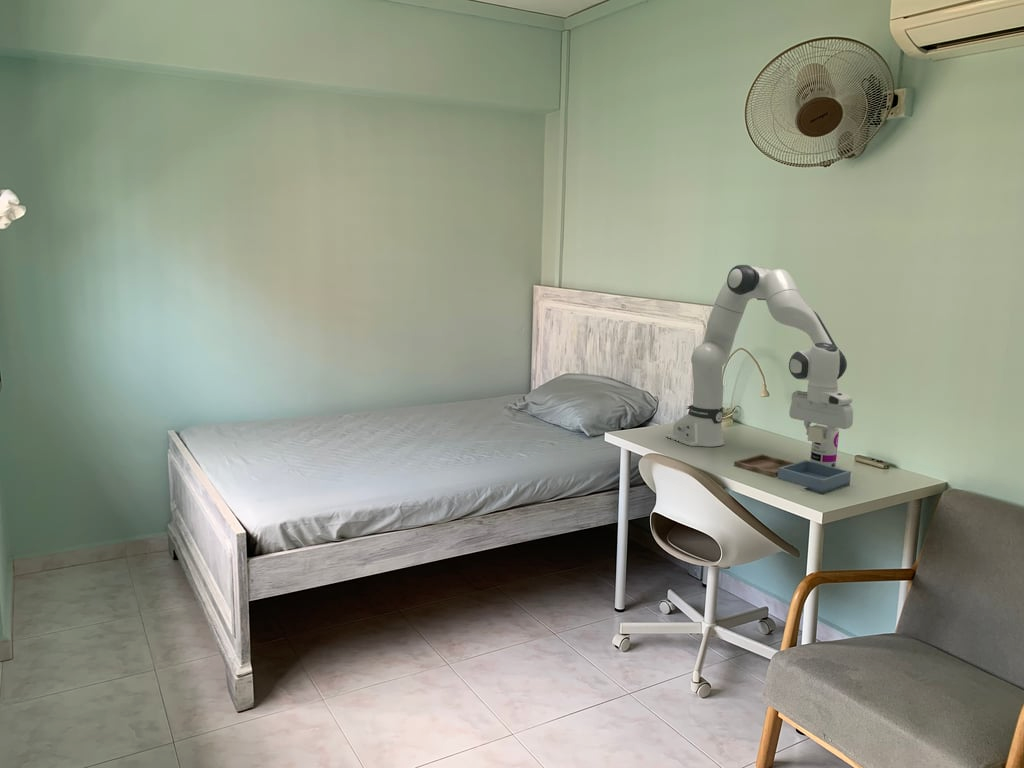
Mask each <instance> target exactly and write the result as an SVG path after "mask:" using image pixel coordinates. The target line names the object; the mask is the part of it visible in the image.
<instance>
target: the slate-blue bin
mask: <svg viewBox="0 0 1024 768" xmlns="http://www.w3.org/2000/svg"><path fill="white" fill-rule="evenodd" d="M793 463H794V464H791V465H787V466H784V467H780V468H778V477H776V478H777V479H778V480H781V481H785V482H789V483H793V484H794V485H798V486H803V487H805V488H803V489H804V490H806V491H810V492H812V491H813V493H817V494H820V495H824V493H825V494H827V492H828V493H831V492H834V491H836V489H837V490H840V489H842V488H841V487H843V488H845V486H846V487H848V486H850V484H851V476H852V475H851V474H852V471H849V470H846V469H842V468H838V467H831V466H827V465H823V464H819V463H815V462H812V461H810V460H807V459H804V460H801V461H798V462H793ZM847 485H848V486H847ZM839 488H840V489H839ZM833 490H834V491H833Z"/></svg>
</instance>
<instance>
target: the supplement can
mask: <svg viewBox="0 0 1024 768" xmlns="http://www.w3.org/2000/svg"><path fill="white" fill-rule="evenodd" d="M815 425H819V426H824V427H828V426H826V425H822V424H817V423H815ZM839 434H840V430H839V428H836V427H835V429H834V431H833V432H832V433H831V438H830V439H829V440H828V441H827V442H824V443H816V442H812V441H811V450H810V460H809V461H812V462H815V463H819V464H823V465H827V466H831V467H835V468H837V467H836V465H837V464H836V463H837V455H838V446H839V436H840V435H839Z"/></svg>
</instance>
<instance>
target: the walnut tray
mask: <svg viewBox="0 0 1024 768" xmlns="http://www.w3.org/2000/svg"><path fill="white" fill-rule="evenodd" d="M794 463H795V462H792V461H789V460H786V459H781V458H777V457H773V456H770V455H766V454H758V455H757V454H756V455H754V456H751V457H747V458H743V459H739V460H735V461H734V462H733V467H737V468H740V469H743V470H746V471H750V472H754V473H757V474H761V475H765V476H767V477H771V478H773V479H774V478H778V468H780V467H784V466H787V465H791V464H794Z"/></svg>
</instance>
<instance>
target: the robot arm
mask: <svg viewBox="0 0 1024 768" xmlns="http://www.w3.org/2000/svg"><path fill="white" fill-rule="evenodd" d="M752 299H756V300H757V301H765V303H766V305H767V308H768V311H769V313H770V315H771V317H772V318H773V319H774V320H775V321H776V322H778V323H780V324H782V325H785V326H788V327H791V328H796V329H797V330H798V329H799V330H800V331H802V332H804V333H806V334H807V335H808V336H809V337H810V340H811V341H812V343H813V344H812V346H811V347H810V348H807V349H802V350H799V351H798V350H797V351H796V352H795V351H794V353H792V355H791V357H790V359H789V362H788V370H789V373H790V374H791V375H792V377H793V378H794V379H797V380H801V381H808V383H807V391H801V390H796V391H794V392H792V393H791V394H792V395H791V403H790V407H789V413H788V414H789V417H790V419H792V420H793V419H794V420H798V421H803V425H804V428H805V430H806V434H805V435H806V436H808V430H809V427H810V426H811V424H813V423H814V424H822V425H826V426H828V427H827V429H829V430H828V432H827V433H824V437H823V438H824V439H827V440H829V439H830V438H831V433H832V432H833V431H834V429H835V427H836V428H838V429H840V430H841V429H842V430H847V429H850V428H851V427H853V422H854V410H853V407H852V405H851V404H852V402H853V397H852V396H850V395H849V394H846V393H845V392H843V391H841V390H839V389H838V388H839V384H838V380H839V379H840V378H841V377H842V376H843V375H844V374H845V372H846V371H847V367H848V363H847V358H846V357H845V355H844V353H843V352H842V351H841V349H839V347H838V346H837V345H836V343H835V341H834V340H833V338H832V336H831V334H830V332H829V330H828V329H827V327H826V326H825V324H824V323H823V321H822V319H821V317H820V316H819V315H818V313H817V312H816V311H814V310H813V309H812V308H811V307H810V306H808V304H807V303H806V302H805V300H804V299H803V297H802V296H801V293H800V291H799V288H798V286H797V284H796V282H795V280H794V279H793V277H792V276H791V275H790V273H789V272H788V271H787V270H785V269H783V268H776V269H772V270H771V269H768V268H764V267H761V266H752V265H748V264H737V265H735V266H733V267H732V268H731V269H730V271H728V275H727V278H726V281H724V283H723V285H722V287H721V289H720V290H719V292H718V295H717V297H716V299H715V302H714V303H713V306H712V309H711V312H710V315H709V317H708V320H707V323H706V328H705V333H704V337H703V341H702V342H701V344H699V345H698V346H696V348H695V349H694V350H693V352H692V354H691V357H690V362H691V369H692V370H691V371H692V379H693V381H692V382H693V390H692V391H693V393H692V404H690V405H687V406H686V410H688V413H687V414H685V415H684V416H682V417H681V418H679V419H678V420H676V421H675V422H674V424H673V428H672V431H670V432H668V433H667V434H666V436H665V437H666V438H667V437H668V439H670V438H671V439H670V440H673V441H675V440H676V441H675V442H678V441H679V443H681V444H684V445H687V446H688V447H689V446H690V447H711V448H712V447H719V446H724V444H725V440H724V436H723V424H722V423H723V422H722V421H723V418H724V407H723V401H724V399H723V398H724V381H723V366H724V365H725V364H726V363H727V362H728V360H729V357H730V355H731V352H732V348H733V345H734V342H735V337H736V334H737V331H738V328H739V326H740V323H741V321H742V318H743V316H744V313H745V310H746V307H747V305H748V303H749V301H750V300H752Z"/></svg>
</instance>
